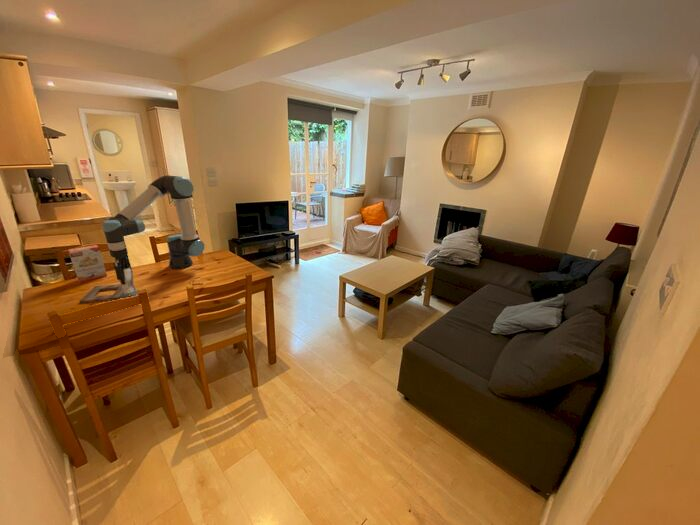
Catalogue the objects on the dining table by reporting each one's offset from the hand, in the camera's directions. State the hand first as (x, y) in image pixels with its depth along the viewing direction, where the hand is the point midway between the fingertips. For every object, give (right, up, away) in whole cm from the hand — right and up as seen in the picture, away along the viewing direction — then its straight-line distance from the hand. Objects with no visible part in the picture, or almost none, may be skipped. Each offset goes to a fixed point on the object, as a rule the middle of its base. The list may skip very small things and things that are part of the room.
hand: (128, 285), depth 164 cm
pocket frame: (-15, -5, +4) cm, 17 cm away
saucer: (0, -6, +3) cm, 7 cm away
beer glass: (0, -3, +1) cm, 4 cm away
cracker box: (-40, +3, +21) cm, 45 cm away
